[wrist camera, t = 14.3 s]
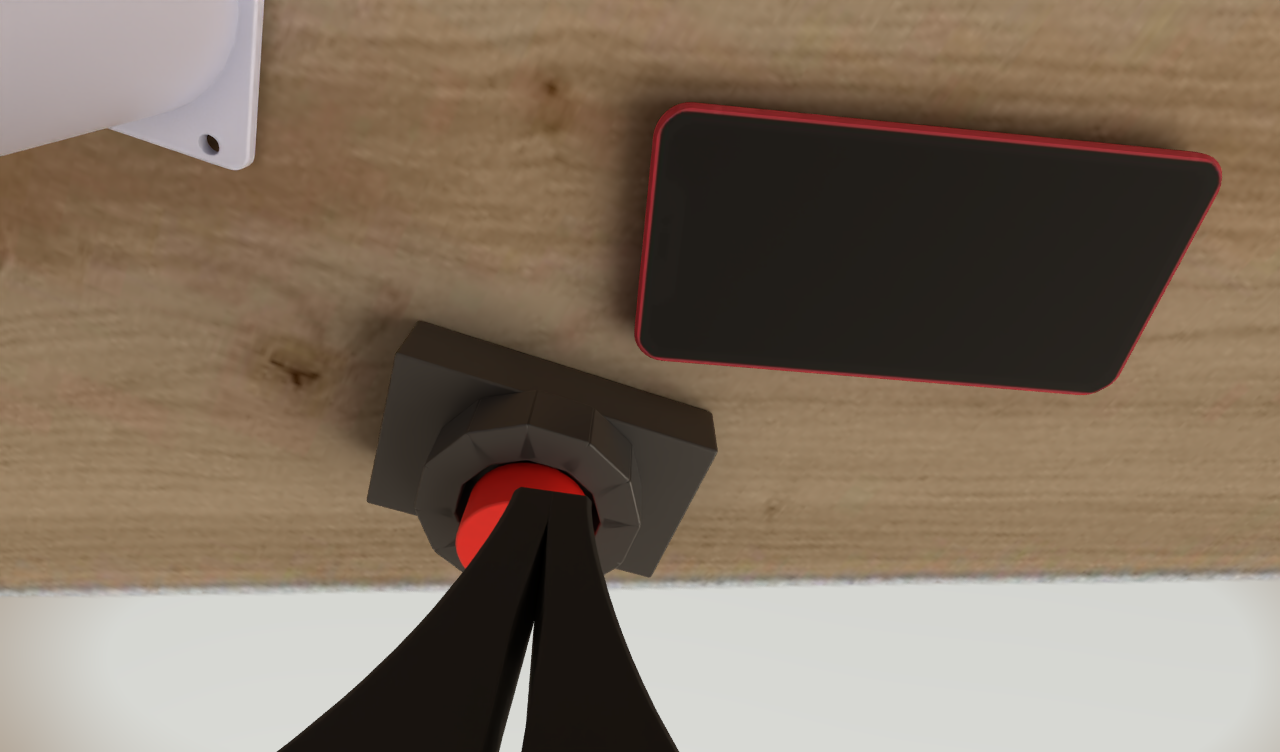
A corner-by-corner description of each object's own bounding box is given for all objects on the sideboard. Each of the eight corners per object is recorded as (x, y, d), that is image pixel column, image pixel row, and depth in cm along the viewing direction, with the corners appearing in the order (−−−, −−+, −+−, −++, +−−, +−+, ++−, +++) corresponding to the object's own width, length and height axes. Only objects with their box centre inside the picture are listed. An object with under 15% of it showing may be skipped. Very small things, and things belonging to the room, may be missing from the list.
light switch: (387, 466, 24) (342, 548, 20) (419, 312, 20) (373, 378, 17) (648, 538, 25) (648, 626, 22) (716, 406, 22) (728, 484, 19)
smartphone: (1109, 399, 21) (631, 360, 20) (1092, 384, 21) (632, 345, 21) (1240, 158, 17) (656, 100, 16) (1214, 150, 18) (656, 95, 17)
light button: (458, 534, 20) (443, 578, 19) (484, 446, 19) (470, 487, 17) (569, 563, 21) (563, 608, 19) (606, 481, 19) (601, 523, 18)
